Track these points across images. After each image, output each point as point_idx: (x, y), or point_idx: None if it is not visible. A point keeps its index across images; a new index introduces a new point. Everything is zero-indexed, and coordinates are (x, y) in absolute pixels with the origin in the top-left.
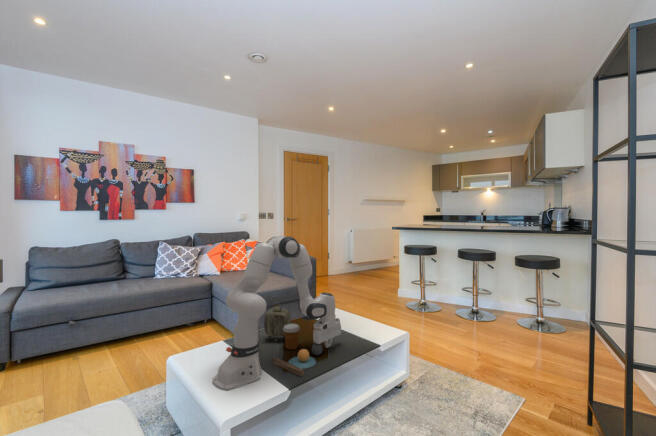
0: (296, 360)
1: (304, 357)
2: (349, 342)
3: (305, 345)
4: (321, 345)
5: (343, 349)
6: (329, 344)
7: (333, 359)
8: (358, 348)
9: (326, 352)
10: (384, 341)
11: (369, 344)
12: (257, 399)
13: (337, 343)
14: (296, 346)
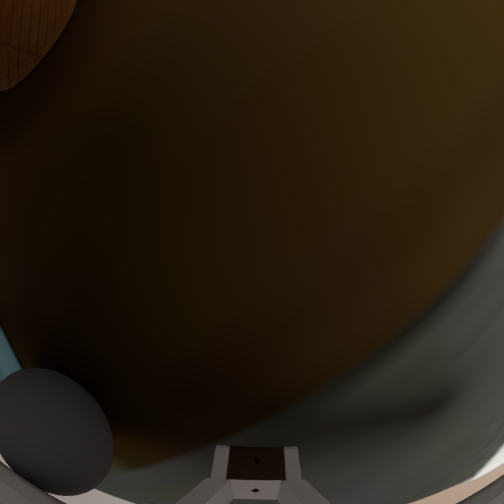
0: None
1: None
2: (488, 412)
3: (131, 66)
4: (81, 493)
5: (348, 481)
6: (261, 491)
7: (151, 493)
8: (403, 493)
9: (184, 442)
10: (499, 462)
11: (467, 471)
12: None
13: (458, 379)
14: (12, 75)
